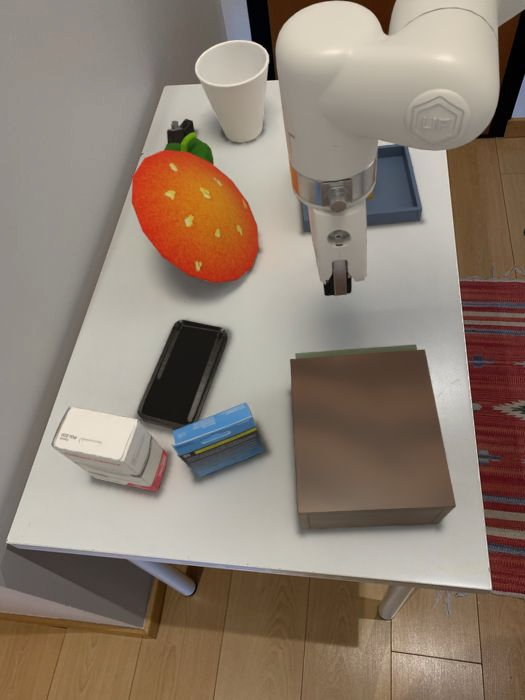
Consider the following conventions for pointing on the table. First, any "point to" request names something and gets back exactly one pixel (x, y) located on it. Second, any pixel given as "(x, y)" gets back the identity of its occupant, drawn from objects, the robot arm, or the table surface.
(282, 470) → the table surface
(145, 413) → the phone
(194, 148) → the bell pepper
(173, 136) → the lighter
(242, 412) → the label tape box
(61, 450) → the ink box
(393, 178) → the tray
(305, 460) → the cabinet
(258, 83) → the cup
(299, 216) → the table surface
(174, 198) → the toy strawberry
